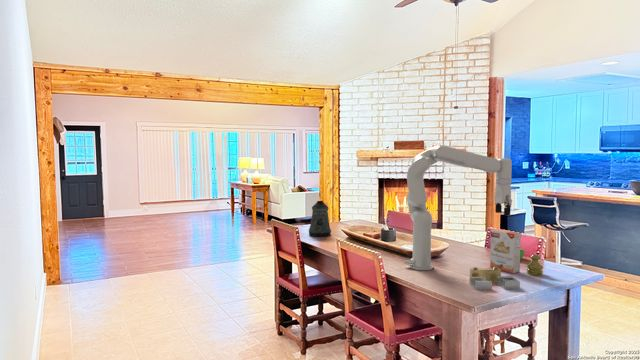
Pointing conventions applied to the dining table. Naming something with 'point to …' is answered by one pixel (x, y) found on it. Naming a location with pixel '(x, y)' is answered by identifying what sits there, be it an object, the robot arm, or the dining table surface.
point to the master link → (486, 273)
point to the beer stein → (320, 221)
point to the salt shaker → (535, 266)
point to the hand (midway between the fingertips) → (502, 213)
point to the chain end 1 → (480, 283)
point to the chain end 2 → (507, 282)
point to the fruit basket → (521, 252)
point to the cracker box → (505, 250)
